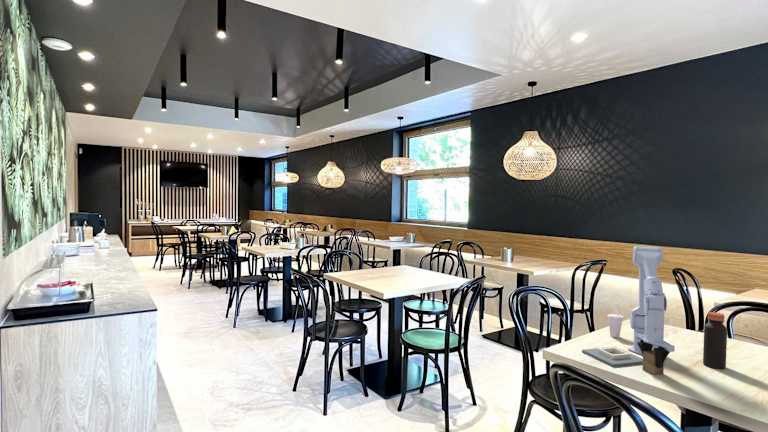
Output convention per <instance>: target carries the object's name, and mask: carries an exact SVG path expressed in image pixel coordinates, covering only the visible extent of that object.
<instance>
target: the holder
mask: <svg viewBox="0 0 768 432" xmlns="http://www.w3.org/2000/svg"><path fill="white" fill-rule="evenodd" d="M581 353H583V354H585V355H587V356H589V357H591V358H593V359H594V360H595V359H596V360H598V361H599V362H602V363H603V364H606V365H608V366H610V367H612V368H616V367H624V366H625V367H627V366H635V365H636V366H637V365H643V357H639V356H637V355H634V354H633V353H630V352H628V351H626V350H622V349H620V348H618V347H616V346H610V347H609V346H608V347H598V348H597V347H596V348H585V349H582V350H581Z"/></svg>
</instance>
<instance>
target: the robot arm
mask: <svg viewBox="0 0 768 432" xmlns="http://www.w3.org/2000/svg"><path fill="white" fill-rule="evenodd" d="M663 258H664V250H663V248H662V247H661V246H657V247H656V246H643V245H641V246H638V245H635V246H633V248H632V265H634V266H636V267H637V268H638V269H637V270H638V305H637V306H635V307H634V308H632V309H631V310H630V316H629V326H630V328H631V329H632V330H633V346H632V347H630V348H628V350H629V351H631V352H633V353H635V354H638V355H640V356H643V351H649V350H654V352H655V356H656V367H657V368H662V367H663V364H664V365H665V362H666V360H667V357H668V356H669V355H670V353H671V352H675V348H676V347H675V345H673V344H671V343H669V342H667V341H666V340H664V338H665V337H664V334H665V330H664V328H665V312H666V311H667V308H668V307H667V306H668V301H667V297H666V294H665V292H664V289H663V284H662V280H661V279H660V278H658V267H659V266H660V265H661V264H662V262H663Z"/></svg>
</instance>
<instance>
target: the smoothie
mask: <svg viewBox="0 0 768 432" xmlns="http://www.w3.org/2000/svg"><path fill="white" fill-rule="evenodd" d="M618 308H619V306H616V307H615V313H610V314H607V318H608V326H609V336H610V337H611V338H614V337H615V338H616V339H619V338H620V336H621V331H622V330H621V329H622V325H623V320H624V316H623V315H621V314H618V313H619V309H618Z"/></svg>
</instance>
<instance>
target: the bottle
mask: <svg viewBox="0 0 768 432" xmlns="http://www.w3.org/2000/svg"><path fill="white" fill-rule="evenodd" d="M707 320H708V322H707V323H705V324H704V326H703V327H704V328H703V352H702V355H703V356H702V364H703V365H704V366H705V367H708V368H710V369H716V370H725V369H726V368H727V345H728V343H727V342H728V328H727V327H726V326H725V325H724V323H725V314H724V313H721V312H714V311H708V312H707Z"/></svg>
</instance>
